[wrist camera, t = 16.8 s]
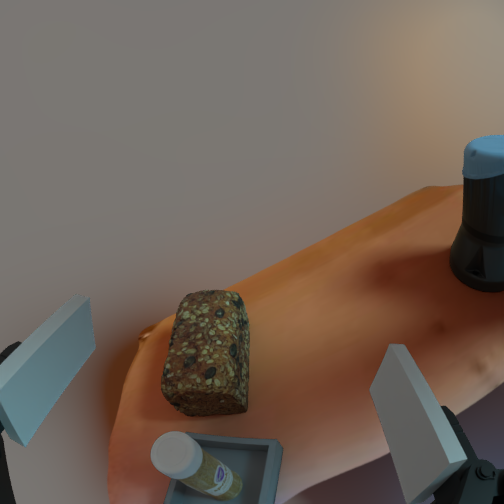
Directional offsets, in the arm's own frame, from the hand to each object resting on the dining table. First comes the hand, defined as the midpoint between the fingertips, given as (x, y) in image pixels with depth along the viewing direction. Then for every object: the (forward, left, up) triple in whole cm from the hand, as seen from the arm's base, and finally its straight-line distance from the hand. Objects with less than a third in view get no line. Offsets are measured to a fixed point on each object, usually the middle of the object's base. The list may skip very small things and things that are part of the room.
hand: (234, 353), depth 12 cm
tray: (+1, -11, -28) cm, 30 cm away
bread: (-18, -16, -28) cm, 38 cm away
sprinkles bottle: (+1, -11, -27) cm, 29 cm away
